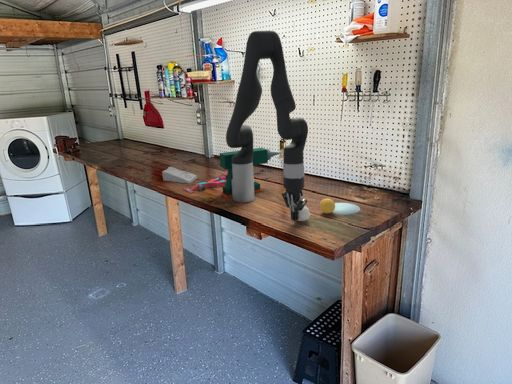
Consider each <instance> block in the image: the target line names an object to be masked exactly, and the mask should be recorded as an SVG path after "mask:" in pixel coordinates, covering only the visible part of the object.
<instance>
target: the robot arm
mask: <svg viewBox="0 0 512 384" xmlns="http://www.w3.org/2000/svg"><path fill="white" fill-rule="evenodd" d="M244 51H245V53H244V58H243V59H244V61H243V68H242V73H241V77H240V78H241V79H240V82H239V85H238V89H237V92H236V98H235V104H234V107H233V111H232V114H231V117H230V120H229V123H228V126H227V129H226V134H225V142H226V145H227V146H228V147H229V148H231V149H240V150H238V151H239V152H238V153H237V154H235V155H233V156H232V172H233V179H232V195H233V197H232V200H234V202H237V203H249V202H252V201H254V200H255V199H256V198H255V193H254V182H255V180H254V178H255V177H254V165H253V149H254V132H253V129H252V127H251V125H247V124H245V122H246V121H247V120H248V119H249V118H250V116H251V115H252V114H253V113H254V112H255V111H256V110H257V108H258V107H259V105H260V101H261V97H262V94H263V87H262V83H261V81H260V78H259V76H258V65H259V62H260V61H261V60H269V59H270V61H271V64H272V69H273V70H272V71H273V72H272V79H271V84H270V96H271V99H272V102H273V105H274V108H275V113H276V129H277V133H278V136H279V137H281V139H282V140H285V141H289V140H291V142H290V144H288V145H286V146H285V147H284V148H283V152H282V154H283V168H282V174H283V178H282V179H283V181H282V182H283V188H284V189H285V192H282V193H281V195H282V196H281V197H282V198H283V201H284V203H285V205H286V208H287V209H289V211H290V220H291V221H292V222H296V221H298V211H301V210H302V209H303V208H304V206H306V205H307V203H308V199H307V198H304V197H303V196H304V194H303V193H304V192H303V189H304V188H305V163H304V150H305V146H306V142H307V138H308V134H309V127H308V123H307V121H306V120H305V119H304V118H303V117H292V118H290V117H291V116H290V114H291V113H293V112H294V111H295V110H296V108H297V107H296V101H295V98H294V96H293V92H292V90H291V86H290V83H289V79H288V74H287V67H286V61H285V55H284V50H283V45H282V41H281V37H280V35H279V34H278V32H276V31H275V30H255V31H252V32H250V33H249V35H248V37H247V41H246V46H245V50H244Z"/></svg>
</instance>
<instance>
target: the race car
mask: <svg viewBox="0 0 512 384" xmlns="http://www.w3.org/2000/svg"><path fill="white" fill-rule="evenodd" d="M227 173H228V170H227V171H224V172H221V174H219V176H216V177H215V178H212V179H210V180H208V181H203V182H199V183H198V182H194V183H193V186H192V187H191V188H188V187H183V190H184V191H186V192H187V193H189V194H194V193H195V191H200V192H202V191H206V189H207V188H220V187H221V188H222V187H225V185H226V179H227Z"/></svg>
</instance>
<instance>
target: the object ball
mask: <svg viewBox="0 0 512 384" xmlns="http://www.w3.org/2000/svg"><path fill="white" fill-rule="evenodd" d="M335 203H336V202H334V200H333V199H331V198H328V197H327V198H324V199H322V200H321V201H320V203H319V209H320V211H321V212H322V213H323V214H327V215H328V214H332V213H331V212H333V211H334V209H335Z"/></svg>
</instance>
